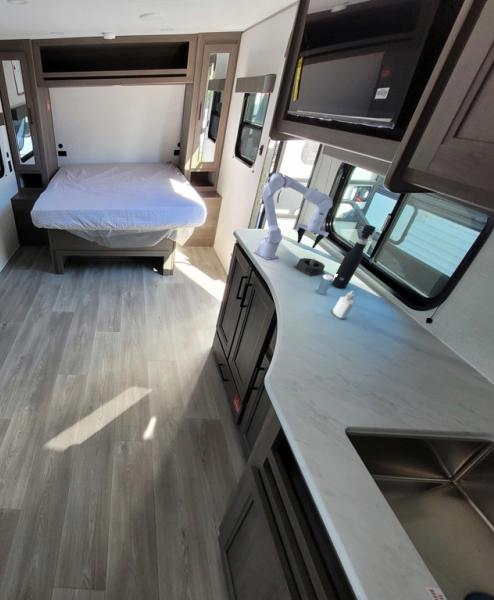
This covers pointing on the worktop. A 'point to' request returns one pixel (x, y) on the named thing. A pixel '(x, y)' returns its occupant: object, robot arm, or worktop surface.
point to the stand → (309, 265)
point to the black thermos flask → (352, 260)
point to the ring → (314, 269)
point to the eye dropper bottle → (344, 305)
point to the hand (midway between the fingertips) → (305, 245)
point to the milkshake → (325, 283)
